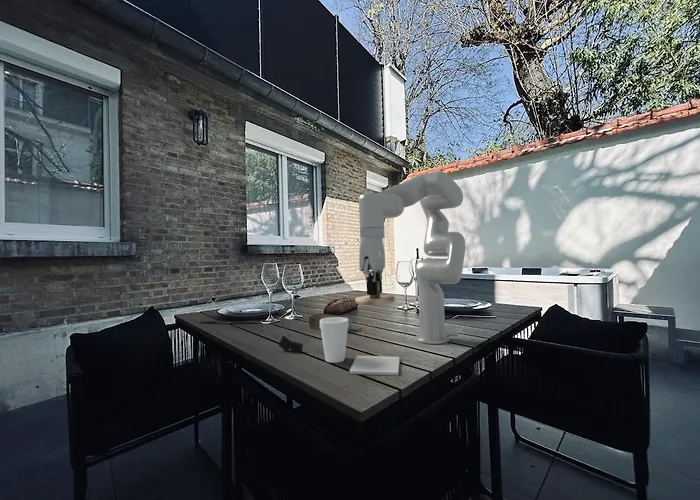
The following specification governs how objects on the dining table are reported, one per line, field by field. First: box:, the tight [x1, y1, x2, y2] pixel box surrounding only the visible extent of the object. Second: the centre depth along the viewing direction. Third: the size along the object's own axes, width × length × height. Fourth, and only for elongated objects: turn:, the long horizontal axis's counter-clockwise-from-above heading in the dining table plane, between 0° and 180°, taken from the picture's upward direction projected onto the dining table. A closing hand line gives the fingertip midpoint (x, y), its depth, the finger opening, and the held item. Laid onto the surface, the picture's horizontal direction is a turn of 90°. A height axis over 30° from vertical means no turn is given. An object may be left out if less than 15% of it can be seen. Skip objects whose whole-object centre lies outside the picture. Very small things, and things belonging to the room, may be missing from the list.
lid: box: [354, 281, 395, 306], centre depth 103 cm, size 12×12×6 cm
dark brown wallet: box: [277, 333, 304, 353], centre depth 120 cm, size 9×2×6 cm
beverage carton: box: [308, 313, 352, 332], centre depth 153 cm, size 8×19×6 cm, turn 59°
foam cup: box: [320, 317, 349, 364], centre depth 110 cm, size 10×9×13 cm
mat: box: [349, 355, 401, 376], centre depth 102 cm, size 14×14×1 cm
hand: (374, 293), depth 103 cm, fingers closed on lid, 3 cm apart
